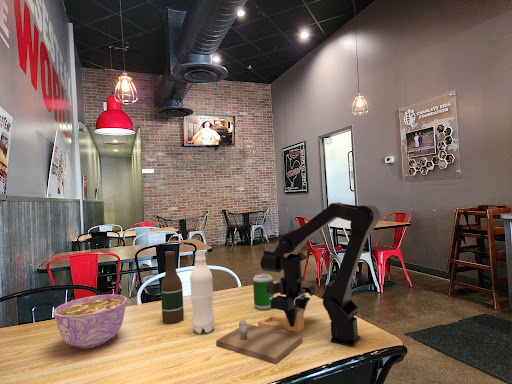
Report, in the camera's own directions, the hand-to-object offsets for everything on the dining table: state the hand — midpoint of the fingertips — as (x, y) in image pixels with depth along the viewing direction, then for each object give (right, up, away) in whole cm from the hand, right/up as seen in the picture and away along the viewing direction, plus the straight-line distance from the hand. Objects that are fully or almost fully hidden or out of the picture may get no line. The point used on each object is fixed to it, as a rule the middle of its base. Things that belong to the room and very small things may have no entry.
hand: (295, 323), depth 100 cm
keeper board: (-11, -2, -9) cm, 15 cm away
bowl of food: (-62, -5, -2) cm, 62 cm away
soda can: (-9, -3, +21) cm, 23 cm away
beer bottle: (-41, -4, +13) cm, 43 cm away
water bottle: (-29, -3, +2) cm, 29 cm away
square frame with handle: (-4, -2, +3) cm, 5 cm away
